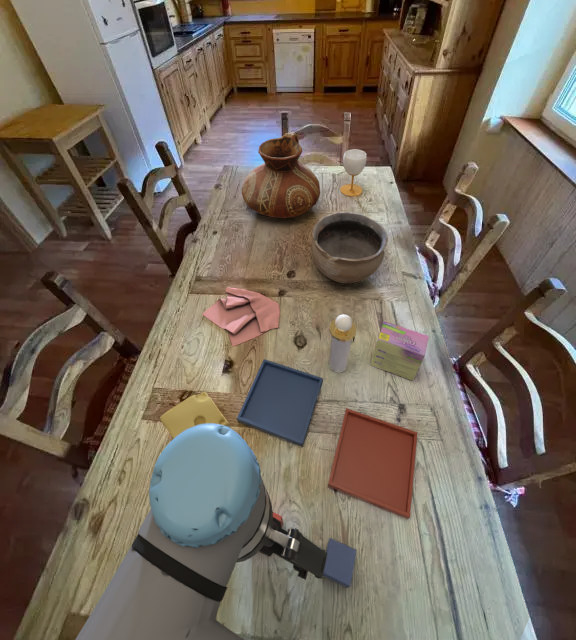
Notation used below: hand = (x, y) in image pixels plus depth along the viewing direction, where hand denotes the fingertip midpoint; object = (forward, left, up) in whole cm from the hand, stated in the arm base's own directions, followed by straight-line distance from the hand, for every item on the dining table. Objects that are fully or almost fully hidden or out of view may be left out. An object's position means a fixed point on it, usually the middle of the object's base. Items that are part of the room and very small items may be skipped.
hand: (255, 537), depth 50 cm
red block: (+3, +1, -15) cm, 15 cm away
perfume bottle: (+39, -3, -15) cm, 42 cm away
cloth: (+46, +27, -15) cm, 55 cm away
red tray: (+21, -15, -15) cm, 30 cm away
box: (+44, -16, -15) cm, 49 cm away
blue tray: (+26, +7, -15) cm, 30 cm away
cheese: (+13, +20, -15) cm, 28 cm away
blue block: (+3, -12, -15) cm, 20 cm away
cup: (+117, +11, -15) cm, 118 cm away
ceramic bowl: (+72, +3, -15) cm, 73 cm away
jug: (+99, +35, -15) cm, 106 cm away
